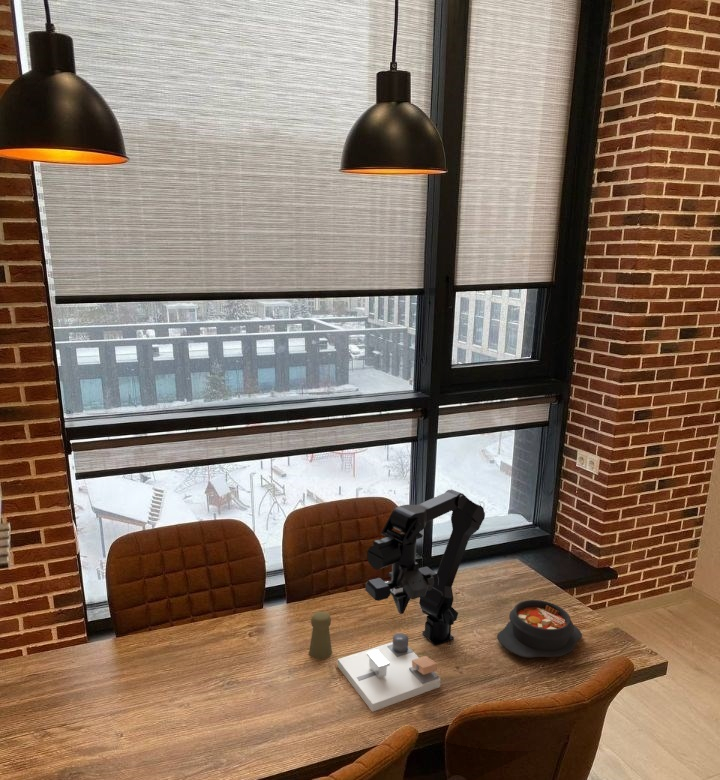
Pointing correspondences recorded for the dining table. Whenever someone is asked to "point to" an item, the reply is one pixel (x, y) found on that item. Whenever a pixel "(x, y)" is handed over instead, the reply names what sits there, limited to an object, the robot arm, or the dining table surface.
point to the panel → (387, 677)
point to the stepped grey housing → (378, 663)
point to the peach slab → (424, 665)
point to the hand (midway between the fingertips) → (401, 613)
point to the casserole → (539, 630)
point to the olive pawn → (320, 636)
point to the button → (400, 643)
